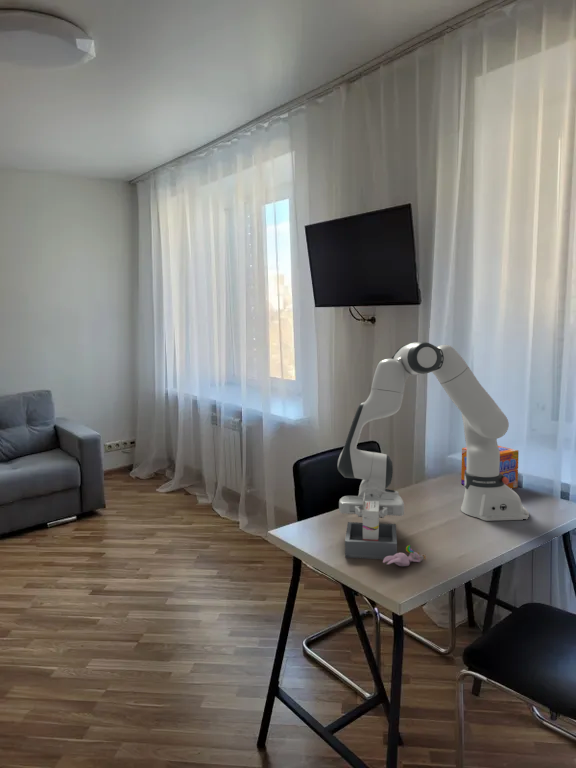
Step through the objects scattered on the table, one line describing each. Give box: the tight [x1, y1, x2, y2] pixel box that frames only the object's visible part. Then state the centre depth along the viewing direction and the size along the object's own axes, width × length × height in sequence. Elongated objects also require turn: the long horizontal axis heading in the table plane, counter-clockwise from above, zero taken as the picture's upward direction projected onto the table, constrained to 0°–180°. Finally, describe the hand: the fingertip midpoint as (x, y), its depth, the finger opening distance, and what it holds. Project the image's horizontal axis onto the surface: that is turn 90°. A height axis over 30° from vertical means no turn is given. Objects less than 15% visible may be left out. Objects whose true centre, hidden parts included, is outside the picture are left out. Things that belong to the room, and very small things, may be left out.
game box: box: [460, 445, 520, 489], centre depth 223 cm, size 16×16×16 cm
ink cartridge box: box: [361, 492, 380, 541], centre depth 167 cm, size 9×5×15 cm, turn 170°
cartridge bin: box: [344, 521, 398, 560], centre depth 167 cm, size 15×15×5 cm
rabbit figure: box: [382, 544, 427, 568], centre depth 156 cm, size 6×6×15 cm
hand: (370, 515), depth 166 cm, fingers closed on ink cartridge box, 5 cm apart
